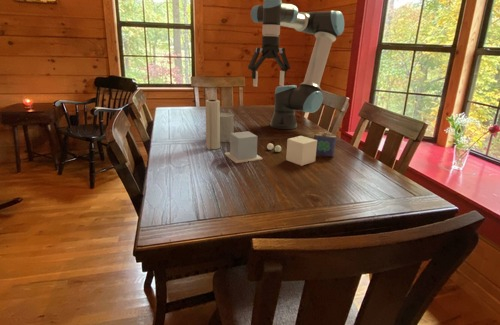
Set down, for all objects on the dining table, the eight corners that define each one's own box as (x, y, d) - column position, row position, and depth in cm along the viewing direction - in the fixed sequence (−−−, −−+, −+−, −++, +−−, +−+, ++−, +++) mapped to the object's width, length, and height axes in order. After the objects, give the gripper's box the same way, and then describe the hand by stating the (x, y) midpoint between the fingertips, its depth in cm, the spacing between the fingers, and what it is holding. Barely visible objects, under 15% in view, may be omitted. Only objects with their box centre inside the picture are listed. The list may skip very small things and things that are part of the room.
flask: (334, 155, 142) (337, 131, 139) (333, 157, 140) (336, 133, 136) (312, 153, 145) (314, 129, 141) (311, 155, 142) (314, 131, 138)
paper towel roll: (214, 145, 152) (213, 98, 145) (222, 148, 148) (222, 100, 141) (201, 148, 148) (200, 100, 140) (209, 151, 144) (209, 102, 136)
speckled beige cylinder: (230, 143, 156) (231, 117, 152) (211, 141, 158) (211, 116, 154) (235, 137, 165) (236, 113, 161) (217, 136, 167) (217, 112, 162)
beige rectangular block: (299, 156, 141) (301, 135, 138) (315, 161, 135) (317, 140, 132) (286, 159, 136) (287, 138, 132) (301, 165, 130) (303, 143, 127)
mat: (249, 151, 145) (249, 149, 145) (262, 159, 135) (262, 158, 135) (224, 154, 140) (224, 152, 140) (235, 163, 130) (235, 161, 130)
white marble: (272, 150, 149) (271, 143, 149) (275, 148, 146) (274, 142, 147) (266, 150, 148) (265, 144, 148) (269, 149, 145) (268, 142, 146)
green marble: (279, 150, 147) (279, 144, 146) (282, 152, 145) (282, 146, 144) (273, 151, 146) (273, 144, 145) (276, 153, 143) (276, 146, 142)
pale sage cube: (248, 151, 143) (248, 131, 140) (256, 157, 136) (257, 136, 133) (230, 153, 139) (230, 133, 136) (238, 159, 132) (238, 138, 129)
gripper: (290, 36, 150) (287, 84, 157) (240, 34, 140) (240, 85, 147) (300, 36, 144) (296, 86, 151) (248, 34, 133) (247, 88, 141)
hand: (268, 86), depth 149 cm, fingers open, 13 cm apart
